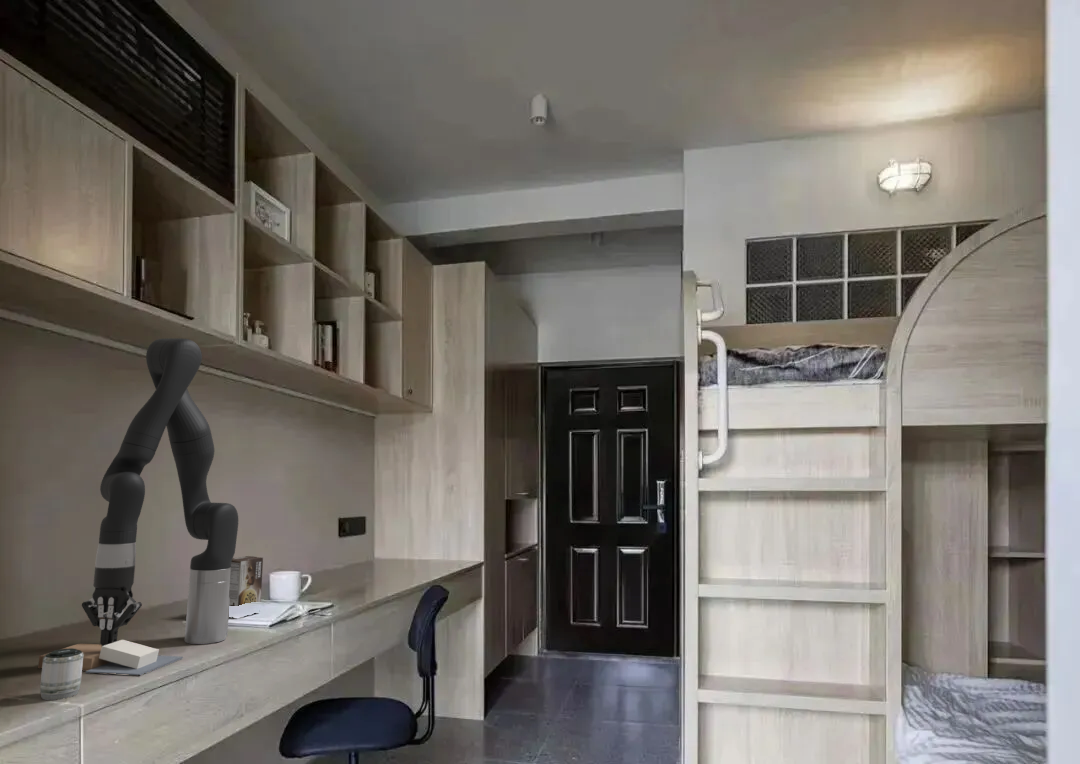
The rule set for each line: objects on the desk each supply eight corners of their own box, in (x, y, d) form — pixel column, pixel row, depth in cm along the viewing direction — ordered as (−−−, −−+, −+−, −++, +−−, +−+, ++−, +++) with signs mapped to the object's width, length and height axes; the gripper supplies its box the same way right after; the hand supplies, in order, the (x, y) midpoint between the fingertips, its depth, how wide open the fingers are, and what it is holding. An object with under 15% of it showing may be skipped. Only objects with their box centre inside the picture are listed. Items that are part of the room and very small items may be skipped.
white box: (119, 651, 153) (122, 639, 154) (156, 661, 152) (159, 649, 152) (98, 658, 147) (102, 646, 148) (137, 669, 146) (140, 656, 146)
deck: (78, 655, 158) (79, 643, 158) (128, 657, 156) (129, 645, 156) (38, 668, 147) (39, 655, 147) (90, 671, 145) (92, 658, 146)
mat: (132, 655, 158) (132, 654, 158) (182, 658, 156) (182, 656, 156) (85, 673, 144) (85, 671, 144) (139, 676, 142) (139, 674, 142)
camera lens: (33, 696, 129) (38, 651, 130) (72, 688, 134) (76, 645, 135) (46, 703, 125) (50, 657, 126) (85, 694, 130) (89, 650, 131)
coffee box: (243, 611, 209) (247, 555, 211) (260, 613, 207) (264, 556, 209) (219, 617, 200) (223, 558, 203) (237, 619, 198) (241, 560, 200)
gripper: (155, 563, 156) (148, 644, 154) (100, 561, 158) (93, 641, 156) (131, 567, 149) (123, 652, 147) (74, 565, 151) (66, 649, 149)
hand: (107, 646), depth 151 cm, fingers closed
